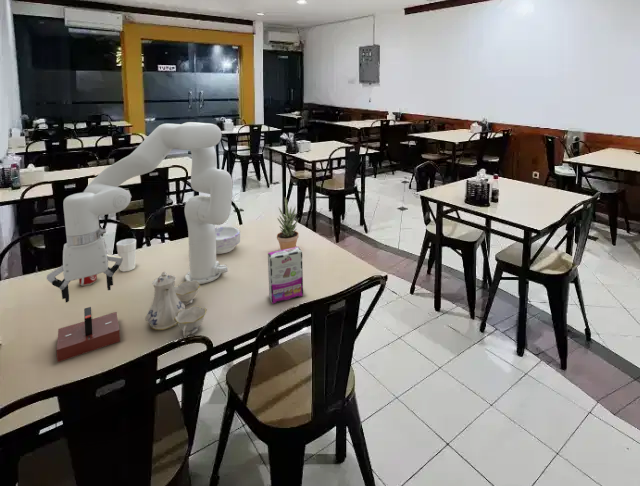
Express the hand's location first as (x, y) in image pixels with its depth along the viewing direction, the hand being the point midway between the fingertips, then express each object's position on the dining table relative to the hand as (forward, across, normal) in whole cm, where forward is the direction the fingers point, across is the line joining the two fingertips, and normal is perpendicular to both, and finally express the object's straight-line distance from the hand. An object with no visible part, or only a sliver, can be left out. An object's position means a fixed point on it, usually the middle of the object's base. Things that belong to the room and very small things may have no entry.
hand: (88, 293), depth 111 cm
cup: (+15, -12, -44) cm, 48 cm away
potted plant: (+16, -71, -22) cm, 76 cm away
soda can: (+15, +1, -40) cm, 42 cm away
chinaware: (+14, -21, +4) cm, 26 cm away
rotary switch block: (+14, +1, 0) cm, 14 cm away
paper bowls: (+16, -48, -40) cm, 64 cm away
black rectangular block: (+10, +1, 0) cm, 10 cm away
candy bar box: (+15, -54, +13) cm, 58 cm away
